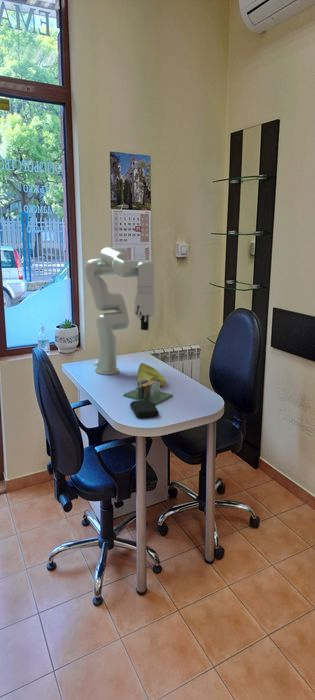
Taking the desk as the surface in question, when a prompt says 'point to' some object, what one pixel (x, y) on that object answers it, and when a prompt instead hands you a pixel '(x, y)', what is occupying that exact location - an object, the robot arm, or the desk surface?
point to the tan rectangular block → (146, 385)
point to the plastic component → (149, 374)
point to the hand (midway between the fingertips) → (144, 329)
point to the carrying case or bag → (144, 409)
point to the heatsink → (148, 392)
